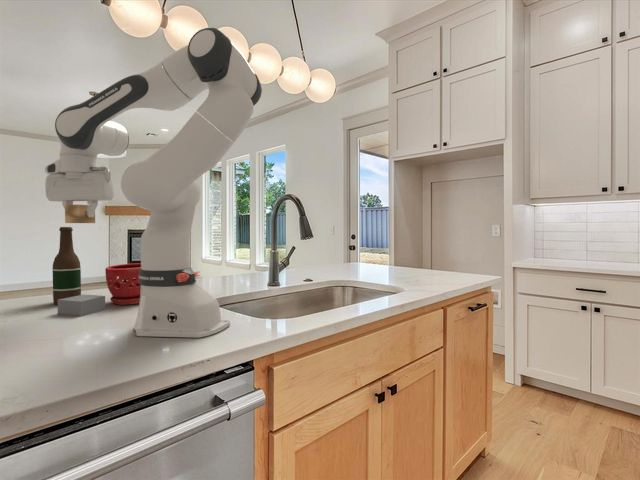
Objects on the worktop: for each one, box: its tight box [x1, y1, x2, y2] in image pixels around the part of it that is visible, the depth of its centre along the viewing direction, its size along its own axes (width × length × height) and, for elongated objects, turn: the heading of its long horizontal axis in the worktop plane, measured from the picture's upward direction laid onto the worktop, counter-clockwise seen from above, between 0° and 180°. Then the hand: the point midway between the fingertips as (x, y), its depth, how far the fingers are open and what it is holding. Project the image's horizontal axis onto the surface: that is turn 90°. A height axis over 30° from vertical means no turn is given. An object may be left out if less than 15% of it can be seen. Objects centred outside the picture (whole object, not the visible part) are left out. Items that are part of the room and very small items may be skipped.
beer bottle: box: [52, 226, 82, 306], centre depth 114 cm, size 8×8×24 cm
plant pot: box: [105, 262, 141, 306], centre depth 116 cm, size 13×13×12 cm
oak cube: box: [64, 204, 96, 224], centre depth 102 cm, size 5×5×5 cm
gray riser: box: [57, 294, 106, 317], centre depth 103 cm, size 8×8×4 cm
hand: (80, 217), depth 102 cm, fingers closed on oak cube, 5 cm apart
